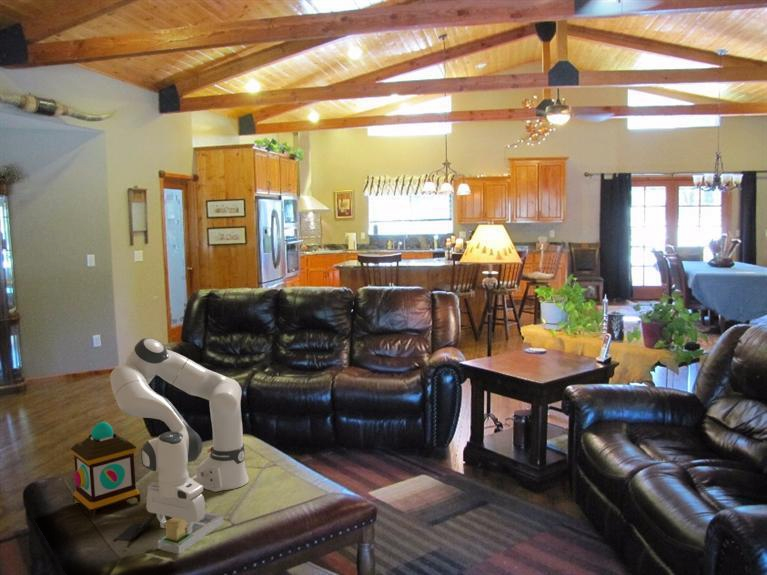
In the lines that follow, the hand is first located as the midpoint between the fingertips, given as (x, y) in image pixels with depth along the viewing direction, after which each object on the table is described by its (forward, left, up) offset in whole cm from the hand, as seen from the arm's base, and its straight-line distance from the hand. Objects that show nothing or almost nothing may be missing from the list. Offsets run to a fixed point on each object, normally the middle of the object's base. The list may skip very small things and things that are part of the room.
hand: (176, 529), depth 190 cm
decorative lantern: (-45, +15, -6) cm, 48 cm away
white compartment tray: (0, +7, -6) cm, 9 cm away
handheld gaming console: (-18, +2, -6) cm, 19 cm away
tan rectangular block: (0, 0, -5) cm, 5 cm away
